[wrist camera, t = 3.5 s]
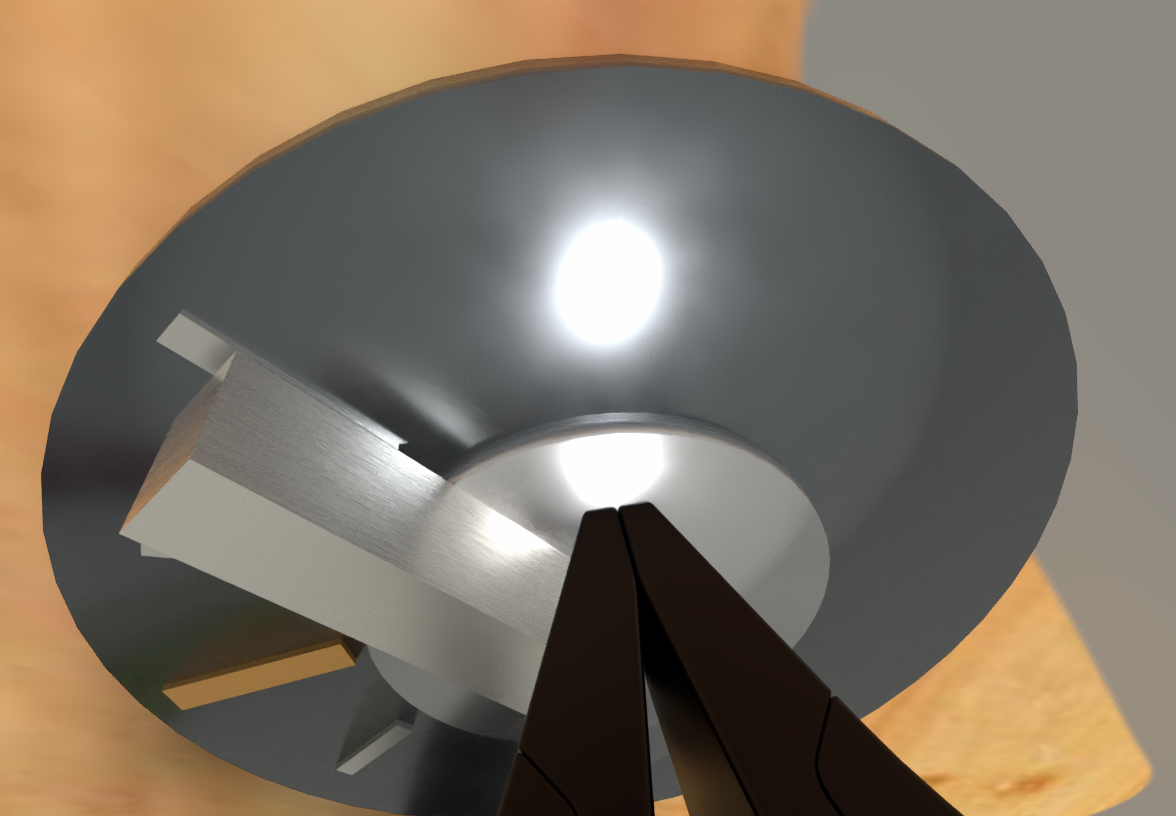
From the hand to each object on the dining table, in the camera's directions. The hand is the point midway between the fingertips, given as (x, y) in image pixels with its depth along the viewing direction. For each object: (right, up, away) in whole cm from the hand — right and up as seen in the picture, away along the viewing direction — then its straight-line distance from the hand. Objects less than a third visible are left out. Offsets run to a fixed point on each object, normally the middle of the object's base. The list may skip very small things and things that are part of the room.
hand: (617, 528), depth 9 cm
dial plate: (0, -3, +12) cm, 12 cm away
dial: (-2, -2, +9) cm, 10 cm away
